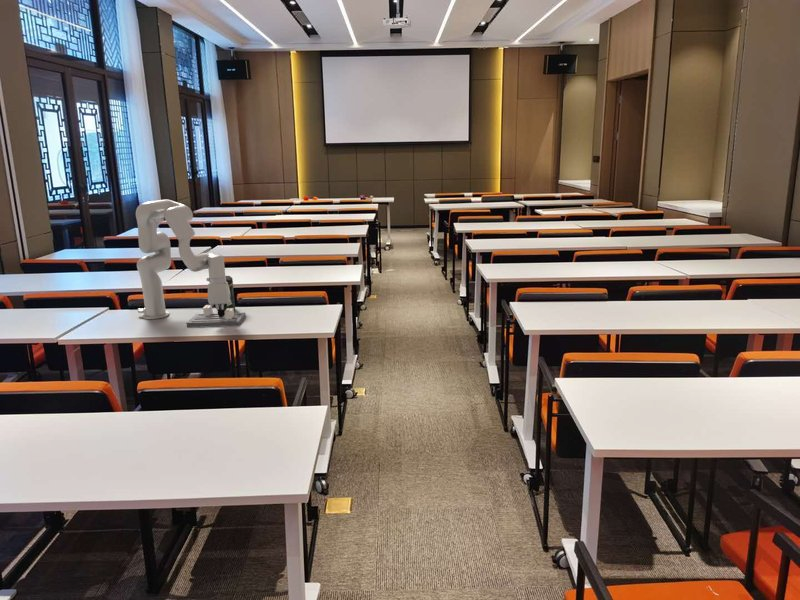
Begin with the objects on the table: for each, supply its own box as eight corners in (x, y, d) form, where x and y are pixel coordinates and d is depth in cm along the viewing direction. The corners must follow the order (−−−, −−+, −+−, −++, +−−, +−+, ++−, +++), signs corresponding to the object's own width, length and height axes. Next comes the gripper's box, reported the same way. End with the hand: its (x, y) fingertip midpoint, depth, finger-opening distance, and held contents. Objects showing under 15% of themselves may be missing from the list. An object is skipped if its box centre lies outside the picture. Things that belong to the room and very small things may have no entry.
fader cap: (225, 319, 285) (224, 311, 284) (228, 316, 290) (227, 308, 288) (231, 319, 285) (230, 310, 284) (234, 316, 290) (233, 308, 288)
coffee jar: (233, 313, 305) (229, 278, 300) (217, 313, 304) (214, 279, 299) (237, 308, 314) (233, 274, 309) (222, 308, 313) (218, 274, 308)
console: (186, 326, 284) (185, 312, 282) (196, 317, 298) (194, 304, 296) (238, 325, 284) (237, 311, 282) (245, 316, 299) (244, 303, 297)
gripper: (199, 282, 278) (204, 319, 283) (231, 281, 279) (235, 318, 283) (204, 279, 285) (208, 315, 290) (235, 278, 286) (238, 314, 291)
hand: (221, 316), depth 287 cm, fingers closed
